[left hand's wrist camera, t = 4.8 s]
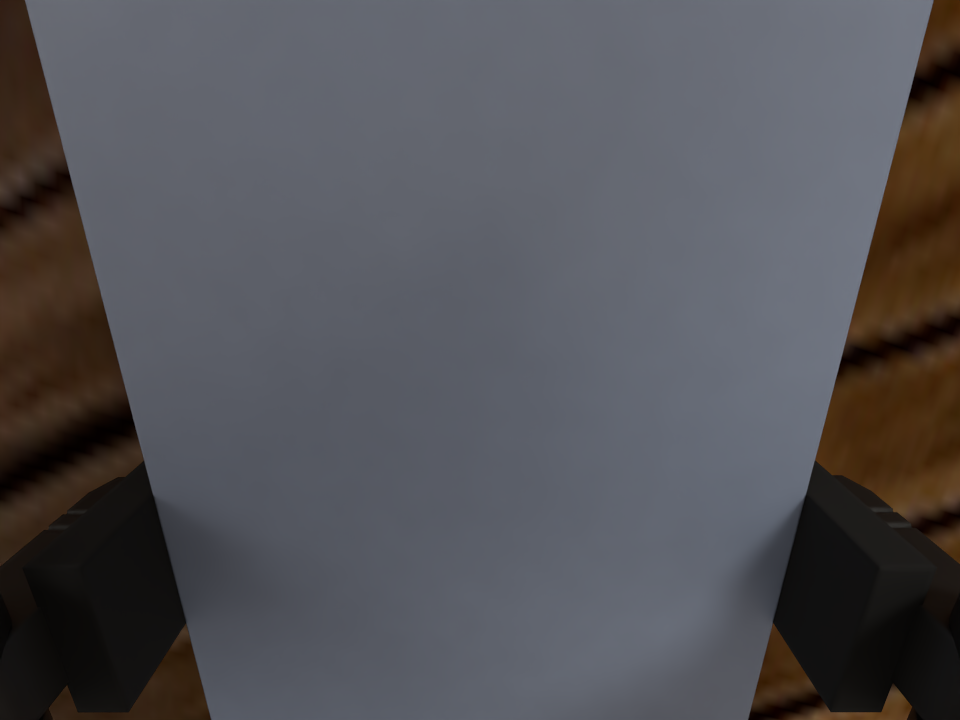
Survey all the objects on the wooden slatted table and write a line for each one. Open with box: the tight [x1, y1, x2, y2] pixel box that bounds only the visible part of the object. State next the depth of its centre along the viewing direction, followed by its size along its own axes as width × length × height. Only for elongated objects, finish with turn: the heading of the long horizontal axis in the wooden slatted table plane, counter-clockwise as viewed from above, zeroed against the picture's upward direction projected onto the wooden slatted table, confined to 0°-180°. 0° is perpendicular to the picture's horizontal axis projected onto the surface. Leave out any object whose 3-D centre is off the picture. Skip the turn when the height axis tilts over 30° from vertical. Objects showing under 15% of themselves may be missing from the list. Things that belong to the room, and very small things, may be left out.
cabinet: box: [25, 0, 933, 720], centre depth 12 cm, size 17×10×11 cm, turn 0°
